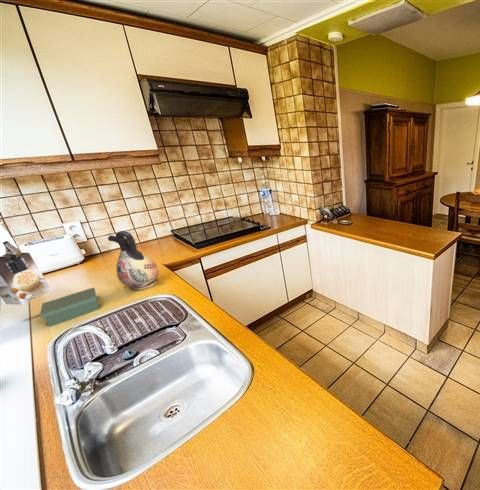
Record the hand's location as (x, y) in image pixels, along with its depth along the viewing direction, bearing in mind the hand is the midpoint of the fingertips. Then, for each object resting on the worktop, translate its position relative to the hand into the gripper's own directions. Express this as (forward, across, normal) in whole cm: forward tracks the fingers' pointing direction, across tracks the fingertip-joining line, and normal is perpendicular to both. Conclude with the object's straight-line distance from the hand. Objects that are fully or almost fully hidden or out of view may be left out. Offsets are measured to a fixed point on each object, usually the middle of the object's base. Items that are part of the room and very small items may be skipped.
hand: (12, 270), depth 92 cm
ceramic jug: (+27, +6, +34) cm, 44 cm away
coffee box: (+11, 0, 0) cm, 11 cm away
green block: (+27, -7, +13) cm, 31 cm away
